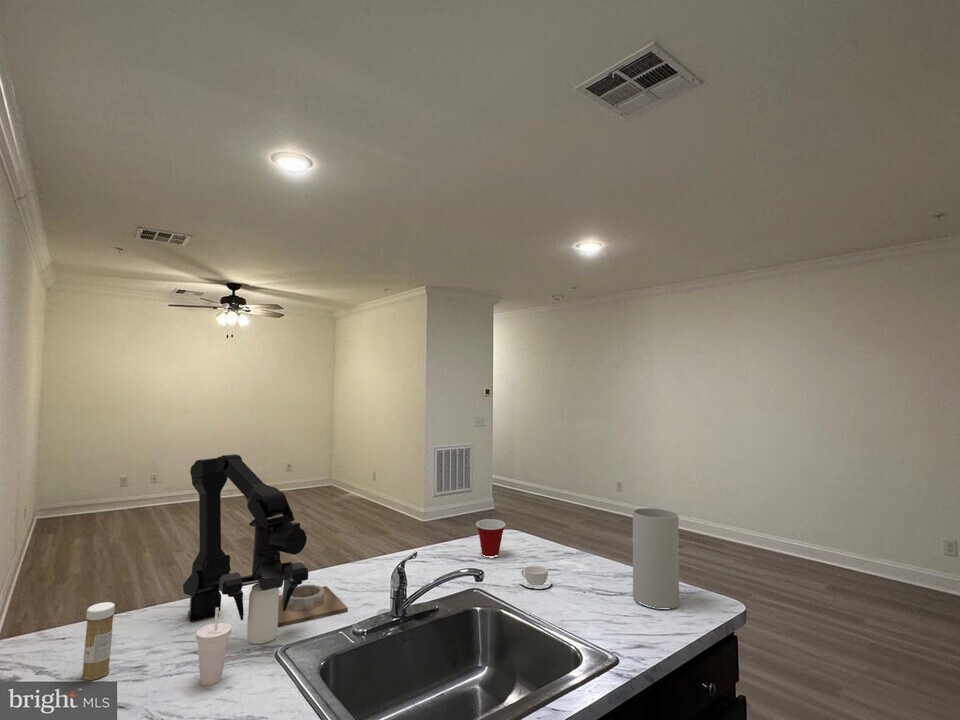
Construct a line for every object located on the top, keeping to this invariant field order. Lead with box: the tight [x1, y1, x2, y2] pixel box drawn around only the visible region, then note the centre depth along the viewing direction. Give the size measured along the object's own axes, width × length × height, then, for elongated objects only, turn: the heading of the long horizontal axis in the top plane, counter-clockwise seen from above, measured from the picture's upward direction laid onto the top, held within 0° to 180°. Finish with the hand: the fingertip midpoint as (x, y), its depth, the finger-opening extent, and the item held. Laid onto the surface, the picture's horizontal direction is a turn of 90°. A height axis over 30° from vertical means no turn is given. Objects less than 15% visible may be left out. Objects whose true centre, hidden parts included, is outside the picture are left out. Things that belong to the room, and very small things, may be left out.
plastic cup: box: [475, 518, 506, 556], centre depth 183 cm, size 11×11×12 cm
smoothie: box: [195, 607, 233, 686], centre depth 100 cm, size 6×6×14 cm
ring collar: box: [286, 584, 324, 611], centre depth 135 cm, size 10×10×3 cm
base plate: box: [277, 585, 349, 628], centre depth 135 cm, size 18×18×1 cm
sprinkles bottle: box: [81, 601, 116, 681], centre depth 101 cm, size 5×5×14 cm
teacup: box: [520, 565, 549, 585], centre depth 156 cm, size 10×10×5 cm
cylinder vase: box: [632, 507, 680, 609], centre depth 145 cm, size 12×12×25 cm
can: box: [246, 583, 280, 646], centre depth 118 cm, size 6×6×12 cm
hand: (263, 615), depth 118 cm, fingers open, 9 cm apart
